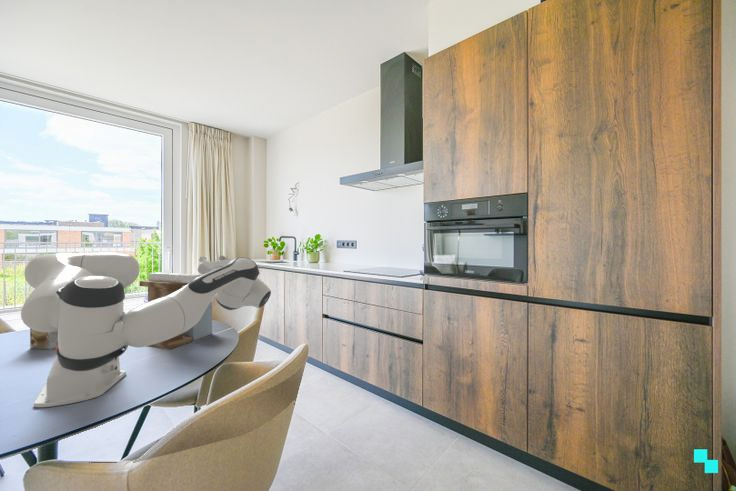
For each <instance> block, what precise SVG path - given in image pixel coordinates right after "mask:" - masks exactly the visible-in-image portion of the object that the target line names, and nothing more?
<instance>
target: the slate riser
mask: <svg viewBox="0 0 736 491" xmlns="http://www.w3.org/2000/svg"><path fill="white" fill-rule="evenodd" d="M210 335H213V301H212V300H211V302H210V303H209V305H208V307H207V309H206V311H205V312H204V314H203V316H202V317H201V319H200V320H199V322H198V323H197V324H196V325H194V326H193V327H192V328H191V329H189V330H188V331H186V332H184V333H183V336H190V337H192V342H193V341H197V340H199V339H202V338H205V337H207V336H210Z"/></svg>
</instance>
